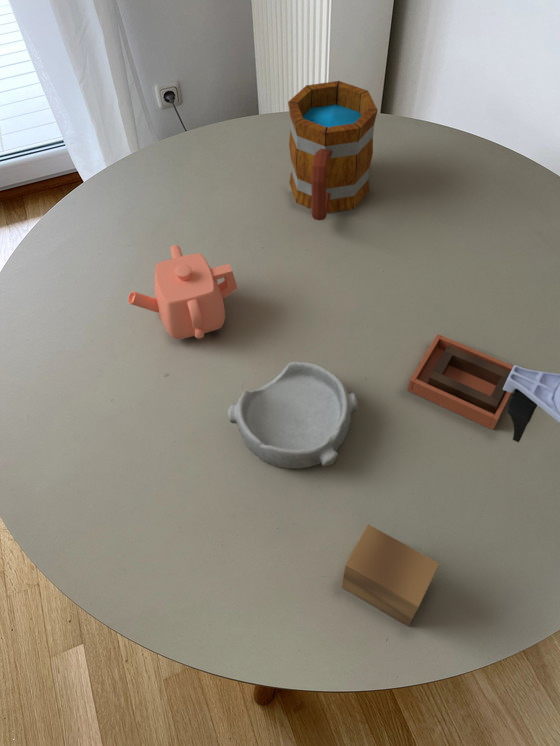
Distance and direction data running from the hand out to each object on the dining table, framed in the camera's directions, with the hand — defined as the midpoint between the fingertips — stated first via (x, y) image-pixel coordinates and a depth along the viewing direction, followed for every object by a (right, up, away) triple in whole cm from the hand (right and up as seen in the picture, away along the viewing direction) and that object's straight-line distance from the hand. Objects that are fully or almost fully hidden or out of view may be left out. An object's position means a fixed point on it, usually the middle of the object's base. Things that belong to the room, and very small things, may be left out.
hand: (553, 450), depth 68 cm
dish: (-27, +1, +15) cm, 30 cm away
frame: (-4, +7, +17) cm, 19 cm away
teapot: (-42, +16, +26) cm, 52 cm away
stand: (-17, -15, +3) cm, 23 cm away
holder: (-5, +7, +17) cm, 19 cm away
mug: (-21, +37, +39) cm, 58 cm away
